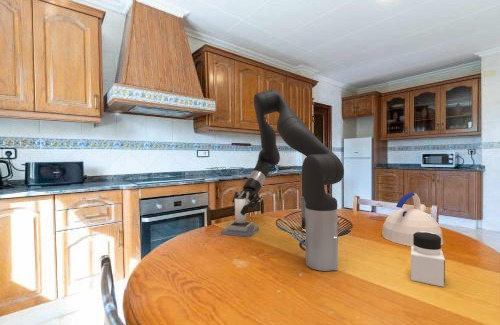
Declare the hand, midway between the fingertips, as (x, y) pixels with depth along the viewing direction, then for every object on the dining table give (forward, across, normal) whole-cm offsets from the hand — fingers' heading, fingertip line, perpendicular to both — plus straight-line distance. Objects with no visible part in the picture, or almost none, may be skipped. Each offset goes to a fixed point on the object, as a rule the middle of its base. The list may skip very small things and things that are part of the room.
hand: (237, 213), depth 111 cm
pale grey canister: (+2, 0, +4) cm, 5 cm away
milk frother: (-11, +26, +24) cm, 37 cm away
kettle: (-19, +59, +32) cm, 70 cm away
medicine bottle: (+6, +68, +6) cm, 68 cm away
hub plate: (+5, 0, +7) cm, 9 cm away
